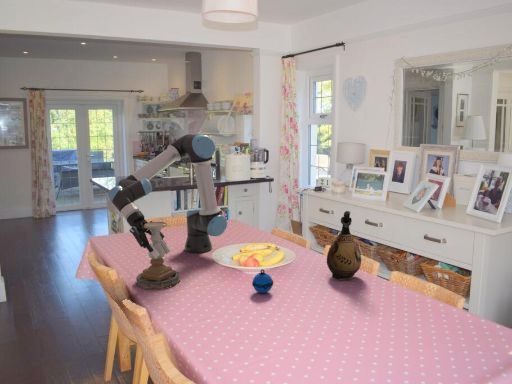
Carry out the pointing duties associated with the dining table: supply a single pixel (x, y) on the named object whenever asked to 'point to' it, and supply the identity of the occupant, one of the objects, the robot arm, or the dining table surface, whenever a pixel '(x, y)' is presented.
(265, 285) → the ornament
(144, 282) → the tray
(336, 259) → the ceramic jug
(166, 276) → the candle holder
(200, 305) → the dining table surface
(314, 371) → the dining table surface
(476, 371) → the dining table surface
